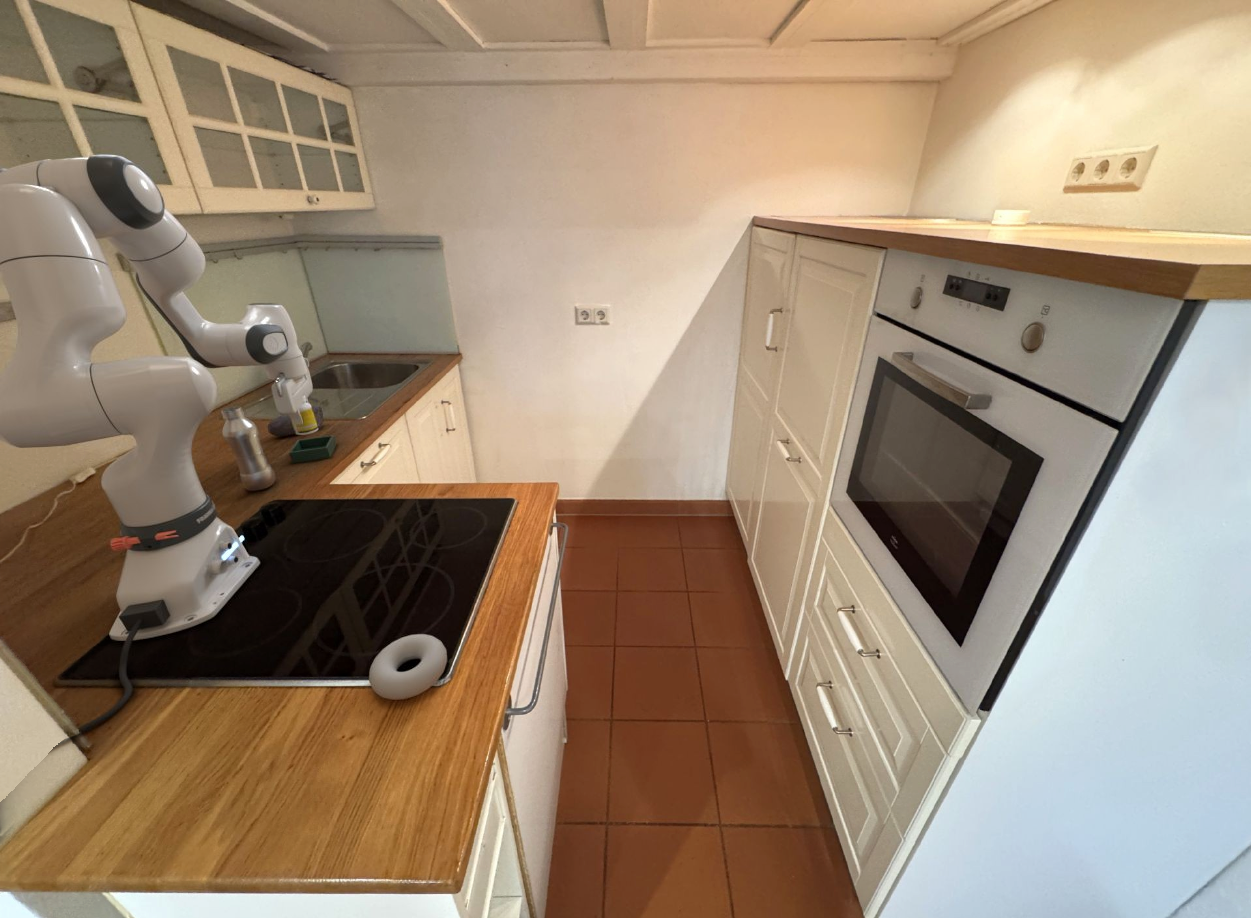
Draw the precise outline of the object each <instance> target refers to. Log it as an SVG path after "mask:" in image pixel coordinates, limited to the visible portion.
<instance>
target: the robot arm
mask: <svg viewBox="0 0 1251 918" xmlns="http://www.w3.org/2000/svg"><path fill="white" fill-rule="evenodd" d="M97 239H98V240H99V239H100V240H102V239H106V240H107V241H109V243H110V244H111V245H112V246H113V247H114V248H115V250H116V251H118V252H119V253H120V254H121V255H122V256H123V257H124V259H125V260H127V262H128V263H129V264H130V265H131V266H132V267H133V268H134V271H135V280H136V284H137V286H138V287H139V289H140V290H141V292H142V294H143V295H144V296H145V298H146V299H147V300H148V302H149V303H151V305H152V306H153V308H154V309H155V310H156V311H157V313H158V314H159V315H160V316H161V317H162V318H163V319H164V321H165V322H166V323H167V324H168V325H169V326H170V328H171V329H172V330H173V331H174V333H175V334H176V335H177V336H178V338H179V339H180V341H181V342H182V344H183V346H184V348H185V349H186V351H187V353H188V355H189V356H185V355H184V356H183V355H182V356H181V355H147V356H140V357H139V356H138V357H133V358H125V359H117V360H109V361H101V362H91V357H92V356H91V355H92V353H93V350H94V349H95V347H96V346H97V345H98V344H100V343H101V342H103V341H104V340H107V339H109V338H110V337H112V336H114V335H115V334H116V333H117V332H118V331H120V330H121V329H122V328H123V326H124V325H125V323H126V320H127V318H128V317H127V316H128V314H127V310H126V309H127V308H126V306H125V304H124V301H123V299H122V296H121V293H120V290H119V289H118V286H117V283H116V281H115V278H114V275H113V272H112V271H111V267H110V265H109V263H108V260H107V258H106V255H105V253H104V252H103V249H102V248H101V245H100V243H99V241H98V240H97ZM206 262H207V261H206V256H205V253H204V251H203V250H202V248H201V247H200V245H199V244H198V243H197V241H196V240H195V238H193V236H192V235H191V234H190V233H189V232H188V230H186V229H185V227H184V226H183V225H182V224H181V223H180V222H179V220H178V219H177V218H176V217H175V216H174V214H172V213H171V211H169V210H168V209H167V208H166V206H165V201H164V198H163V195H162V192H161V190H160V188H159V187H158V186H157V184H156V183H155V181H154V180H153V178H152V177H151V176H150V175H149V174H148V173H147V172H146V170H144V169H143V168H142V167H140V166H139V165H138V164H136V163H134V162H132V161H131V160H129V159H127V158H126V157H124V156H121V155H116V154H103V153H101V154H96V153H95V154H91V155H89V156H84V157H83V156H82V157H66V158H65V157H64V158H56V159H49V158H47V159H41V160H35V161H31V162H27V163H22V164H19V165H15V166H12V167H10V168H0V277H1V279H2V282H3V284H4V286H5V289H6V292H7V295H8V296H9V297H8V298H9V300H10V303H11V306H12V309H13V313H14V316H15V319H16V326H17V338H16V343H15V347H14V351H13V353H12V355H11V357H10V359H9V361H8V363H7V364H6V365H5V366H4V368H3V369H2V370H1V371H0V441H1V442H3V443H6V444H8V445H10V446H12V447H16V448H19V449H29V448H52V447H53V448H55V447H66V446H72V445H78V444H83V443H88V442H92V441H97V440H99V441H100V440H104V439H109V438H114V437H119V436H132V437H133V438H134V441H135V443H136V445H135V446H134V447H132V449H130V450H129V451H128V452H126V453H124V454H123V455H121V456H119V457H118V458H117V459H115V460H114V461H113V462H111V463H110V464H109V465H108V466H107V467H106V468H105V469H104V471H103V472H102V475H101V479H100V480H101V481H100V482H101V488H102V490H103V491H104V494H105V495H106V498H108V501H109V502H110V504H111V506H112V508H113V509H114V511H115V513H116V515H117V516H118V518H119V528H120V532H119V533H120V537H114V538H113V537H112V538H111V539H110V541H109V546H110V549H111V550H112V551H114V552H118V551H122V550H126V552H125V556H124V557H125V558H124V561H123V564H122V568H121V572H120V576H119V581H118V584H117V589H116V592H115V599H116V602H117V605H118V607H119V613H118V614H117V616H116V618H115V621H114V623H113V624H112V626H111V628H110V630H109V632H108V635H109V637H110V639H111V640H112V641H117V642H119V641H120V642H124V644H123V645H122V649H121V653H120V656H119V668H118V677H119V681H120V684H121V685H122V687H123V689H124V693H123V695H122V697H121V698H120V699H119V701H118V702H117V703H116V704H114V705H113V706H112V707H111V708H110V709H108V710H107V711H106V712H104V713H103V714H102V715H101V714H100V715H99V716H98V717H96V718H94V719H92V720H90V721H89V722H87V723H84V724H83V725H80V726H79V727H77V728H78V729H79V732H81V733H84V732H85V731H87V730H90V729H91V728H94V727H95V726H97V725H99V724H101V723H102V722H104V721H106V720H108V719H109V718H111V716H113V715H114V714H116V713H117V712H118V711H119V710H120V709H121V708H122V707H123V706H124V705H125V704H126V703H127V702H128V701H129V699H130V698H131V696H132V694H133V689H134V688H133V685H132V683H131V681H130V679H129V677H128V673H127V667H128V657H129V651H130V648H131V646H132V643H133V641H139V640H146V639H150V638H155V637H160V636H164V635H168V634H172V633H177V632H180V631H184V630H186V629H190V628H193V627H195V626H197V625H200V624H202V623H204V622H207V621H209V620H211V619H213V618H214V617H215V616H216V615H217V614H218V613H219V612H220V611H221V610H222V609H223V608H224V606H225V605H226V604H227V603H228V601H229V600H230V599H232V597H233V596H234V595H235V593H237V591H238V590H239V589H240V588H241V587H242V586H243V584H245V582H246V581H247V579H248V578H249V577H250V576H251V575H252V574H253V573H254V571H255V570H256V569H257V568H259V566H260V565H261V561H260V559H259V558H258V557H257V556H254V555H250V554H249V553H248V552H247V550H246V548H245V546H244V545H243V541H245V537H244V535H240V537H239V536H238V534H237V533H236V531H235V529H234V528H233V527H232V526H231V525H229V524H227V523H226V522H225V521H223V520H221V519H220V517H218V510H217V509H216V505H215V502H214V501H213V499H211V497H210V495H208V494H207V493H205V491H204V488H203V487H202V484H201V481H200V478H199V476H198V473H197V471H196V467H195V463H194V461H193V456H192V446H193V442H194V437H195V435H196V432H197V430H198V428H199V427H200V425H201V424H202V423H203V421H204V420H205V419H207V417H208V416H209V415H210V414H211V413H212V412H213V410H214V409H215V407H216V405H217V402H218V399H219V389H218V383H217V381H216V379H215V378H214V376H213V375H212V373H211V372H210V370H208V369H220V368H229V367H251V366H252V367H254V366H263V368H264V371H265V374H266V377H267V379H269V380H272V381H274V382H273V383H272V384H271V394H272V398H273V401H274V405H275V408H276V412H277V413H278V414H279V416H281V415H288V414H290V416H291V417H292V418H293V420H294V423H295V424H296V425H301V424H303V422H304V420H303V417H302V416H301V415H300V413H299V411H300V410H299V408H300V406H301V405H302V404H303V403H304V399H303V396H304V395H305V398H306V403H309V399H308V398H309V396H310V395H311V394H312V393H313V391H314V389H313V387H314V385H313V382H312V377H311V373H310V372H311V371H310V369H309V367H310V362H309V359H308V358H307V357H304V355H303V351H302V350H301V349H300V347H299V345H298V336H297V332H296V330H295V327H294V324H293V321H292V319H291V316H290V314H289V313H288V311H287V310H286V308H285V307H284V306H283V305H282V304H280V303H277V302H252V303H249V304H247V305H246V306H245V309H246V310H245V311H246V313H245V316H244V317H243V318H242V319H240V321H238V323H237V322H235V323H216V322H212V321H209V320H207V319H205V318H203V317H202V316H201V314H200V313H199V311H198V310H197V309H196V307H195V306H194V305H193V303H192V302H191V301H190V299H189V298H188V297H187V296H186V294H185V293H184V292H185V291H187V290H189V289H191V288H192V287H193V286H194V285H196V284H197V282H199V280H200V279H201V278H202V277H203V275H204V274H205V270H206V264H207V263H206Z"/></svg>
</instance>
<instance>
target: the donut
mask: <svg viewBox="0 0 1251 918" xmlns="http://www.w3.org/2000/svg"><path fill="white" fill-rule="evenodd" d="M447 654H448V652H447V648H446V647H445V645H444V644H443V642H442V641H441V640H440V639H438V638H437V637H435V636H433V635H430V634H425V633H421V634H420V633H417V634H410V635H407V636H403V637H400V638H398V639H396V640H394V641H392V642H391V643H390V644H388V645H387V646H385V647H384V648H382V650H381V651H380V652H379V653H378V654H377V655H376V656H375V658H374V659H373V661H372V663H371V665H370V668H369V675H368V682H369V684H370V686H371V689H372V690H373V692H374V693H375V694H377V695H378V696H380V697H381V698H383V699H387V700H391V701H398V700H407V699H409V698H413V697H416V696H418V695H420V694H422V693H424V692H426V691H427V690H428V689H430V688H432V686H433V685H434V684H436V683H437V682H438V681H439V679H440V678H441V677H442V675H443V673H444V671H445V669H446V666H447V663H448V655H447ZM412 660H420V662H419V663H418V664H417V665H416V666H415V667H413V668H412V669H409V670H406V671H398V669H399V668H400V667H401V666H402V665H403V664H405V663H407V662H409V661H412Z"/></svg>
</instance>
